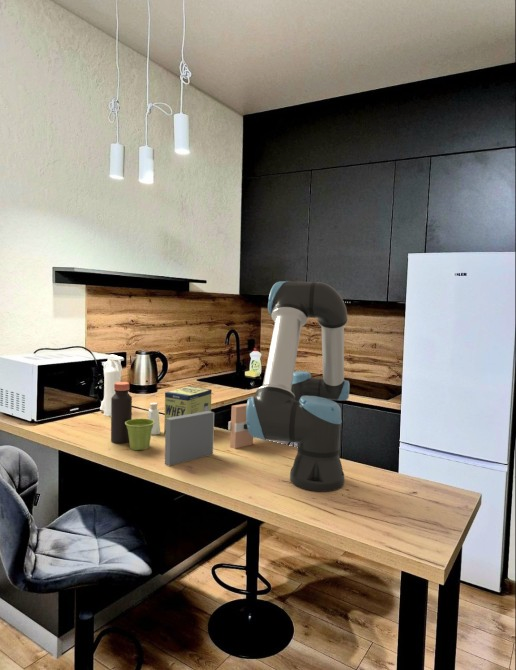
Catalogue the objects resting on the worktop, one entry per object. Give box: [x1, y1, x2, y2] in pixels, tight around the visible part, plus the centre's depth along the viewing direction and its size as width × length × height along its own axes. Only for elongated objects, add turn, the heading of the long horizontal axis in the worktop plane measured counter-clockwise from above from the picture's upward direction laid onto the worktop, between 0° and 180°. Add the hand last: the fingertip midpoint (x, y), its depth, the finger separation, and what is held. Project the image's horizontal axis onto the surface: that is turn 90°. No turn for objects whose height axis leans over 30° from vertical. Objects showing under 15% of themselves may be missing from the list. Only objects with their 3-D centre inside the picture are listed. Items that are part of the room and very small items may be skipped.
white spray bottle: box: [99, 354, 125, 417], centre depth 198 cm, size 7×12×25 cm, turn 56°
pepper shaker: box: [147, 402, 161, 436], centre depth 175 cm, size 5×5×11 cm
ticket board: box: [164, 410, 215, 467], centre depth 148 cm, size 16×3×14 cm, turn 133°
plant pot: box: [125, 418, 154, 451], centre depth 158 cm, size 9×9×9 cm
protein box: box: [163, 385, 213, 434], centre depth 178 cm, size 10×16×16 cm
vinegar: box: [110, 381, 133, 444], centre depth 164 cm, size 7×7×20 cm
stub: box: [229, 402, 254, 450], centre depth 163 cm, size 8×2×14 cm, turn 133°
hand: (232, 426), depth 159 cm, fingers closed on stub, 3 cm apart
